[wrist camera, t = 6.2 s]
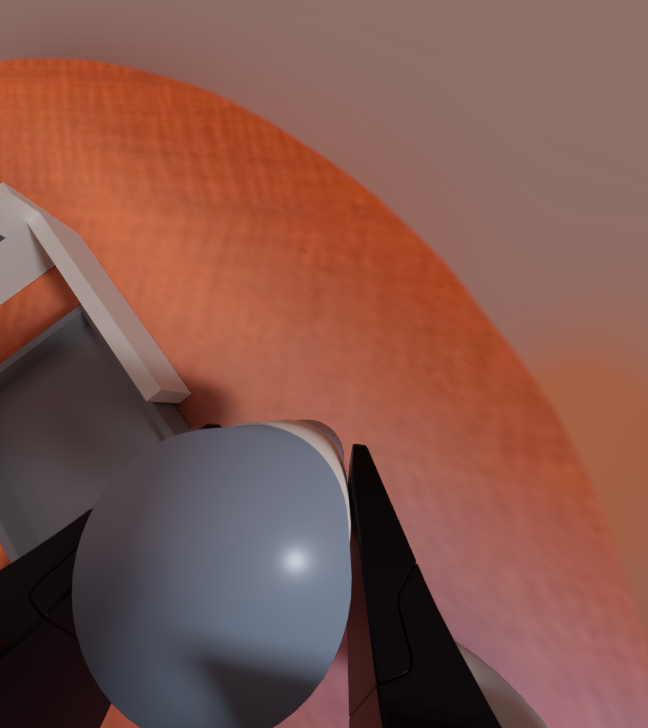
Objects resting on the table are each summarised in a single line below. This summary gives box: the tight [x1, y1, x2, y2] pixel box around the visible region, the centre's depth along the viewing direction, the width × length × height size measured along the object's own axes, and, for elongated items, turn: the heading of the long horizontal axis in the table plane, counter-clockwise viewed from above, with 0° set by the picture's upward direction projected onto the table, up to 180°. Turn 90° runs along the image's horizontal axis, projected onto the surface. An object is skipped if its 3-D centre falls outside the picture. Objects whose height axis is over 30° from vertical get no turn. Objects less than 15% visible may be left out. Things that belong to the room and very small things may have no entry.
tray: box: [0, 304, 191, 563], centre depth 20 cm, size 18×17×5 cm
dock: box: [0, 182, 191, 403], centre depth 22 cm, size 18×16×6 cm
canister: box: [72, 420, 352, 728], centre depth 10 cm, size 4×4×12 cm
